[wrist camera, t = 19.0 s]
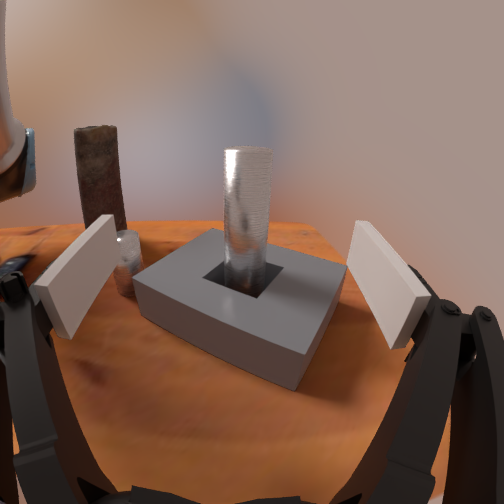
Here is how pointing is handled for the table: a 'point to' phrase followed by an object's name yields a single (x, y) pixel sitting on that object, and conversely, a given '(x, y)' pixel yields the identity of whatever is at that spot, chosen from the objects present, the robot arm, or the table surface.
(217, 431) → the table surface
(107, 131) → the brown textured cylinder
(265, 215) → the long pin
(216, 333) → the guide block
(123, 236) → the short pin
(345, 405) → the table surface
